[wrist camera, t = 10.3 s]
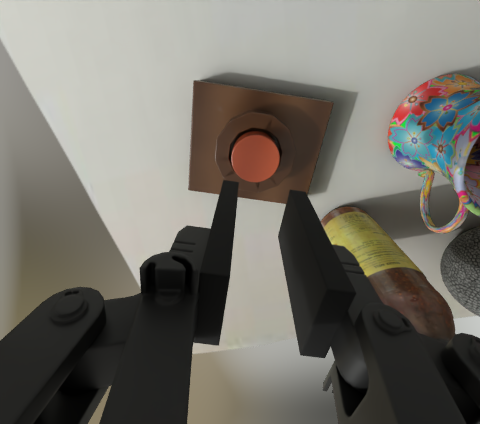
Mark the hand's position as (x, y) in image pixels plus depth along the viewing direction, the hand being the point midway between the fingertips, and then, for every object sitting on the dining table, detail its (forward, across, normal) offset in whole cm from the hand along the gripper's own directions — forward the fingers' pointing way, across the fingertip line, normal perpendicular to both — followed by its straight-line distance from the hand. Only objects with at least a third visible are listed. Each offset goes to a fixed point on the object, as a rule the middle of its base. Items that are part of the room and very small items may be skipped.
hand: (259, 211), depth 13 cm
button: (+11, 0, 0) cm, 11 cm away
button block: (+15, 0, 0) cm, 15 cm away
